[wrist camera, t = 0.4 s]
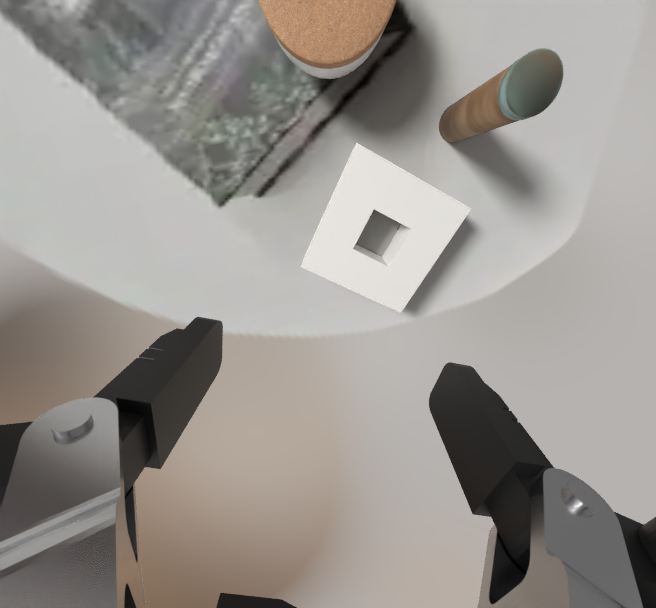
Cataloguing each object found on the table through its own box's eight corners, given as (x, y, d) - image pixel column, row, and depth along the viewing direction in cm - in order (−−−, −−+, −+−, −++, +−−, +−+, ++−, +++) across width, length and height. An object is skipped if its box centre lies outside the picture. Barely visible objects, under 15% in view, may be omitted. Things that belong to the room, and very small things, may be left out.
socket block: (353, 148, 29) (356, 142, 25) (453, 205, 32) (471, 208, 28) (304, 257, 35) (300, 266, 31) (393, 299, 37) (400, 313, 33)
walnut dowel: (452, 95, 27) (533, 35, 16) (480, 113, 28) (575, 67, 17) (431, 132, 29) (493, 100, 18) (458, 149, 29) (534, 128, 18)
